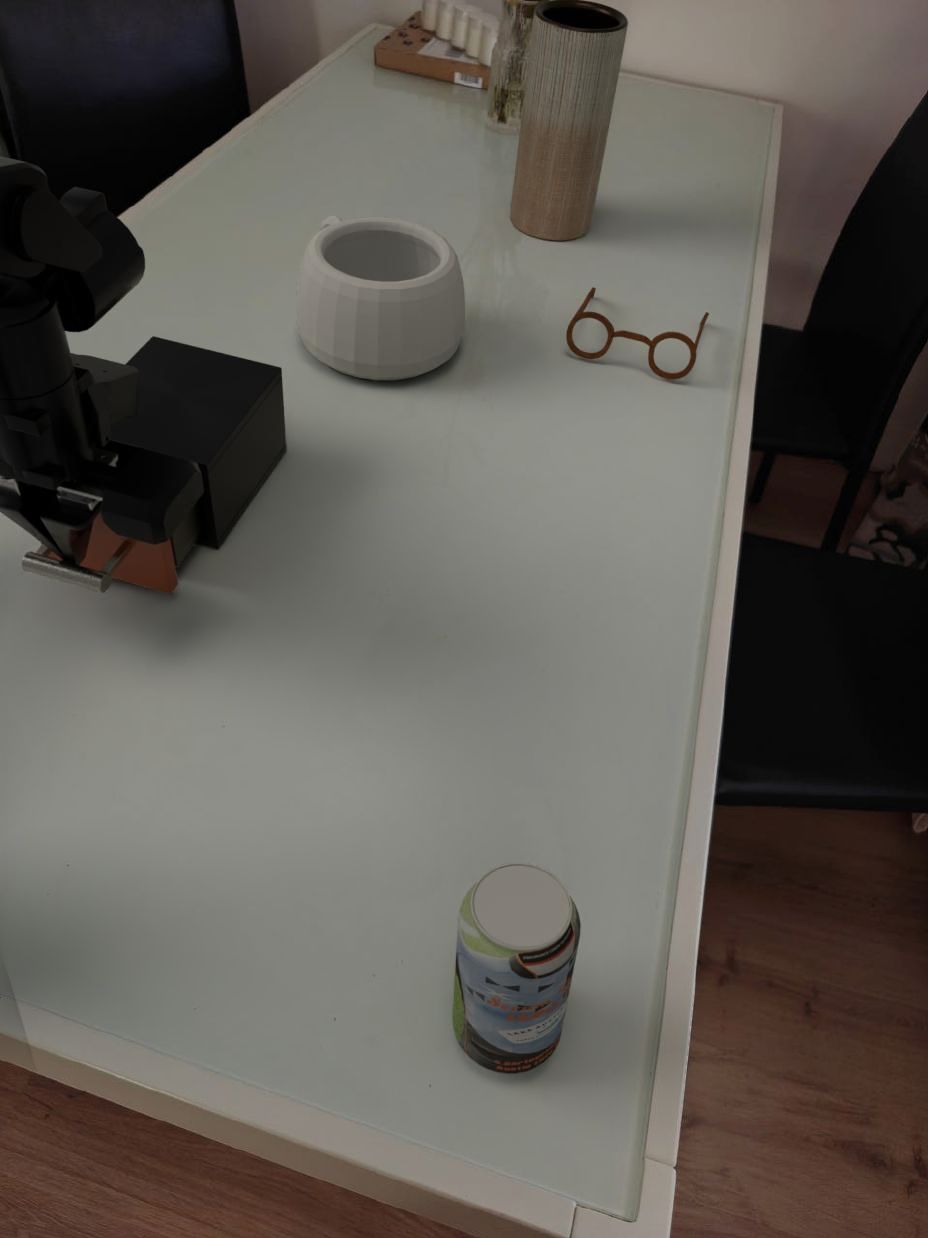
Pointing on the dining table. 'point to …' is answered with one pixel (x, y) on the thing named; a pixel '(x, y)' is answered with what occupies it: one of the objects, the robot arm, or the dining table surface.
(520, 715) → the dining table surface
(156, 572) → the drawer with bar handle
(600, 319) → the glasses
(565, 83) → the tall ribbed vase
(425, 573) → the dining table surface
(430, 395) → the dining table surface
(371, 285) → the mug
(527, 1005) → the beverage can
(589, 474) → the dining table surface
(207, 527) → the small drawer box
